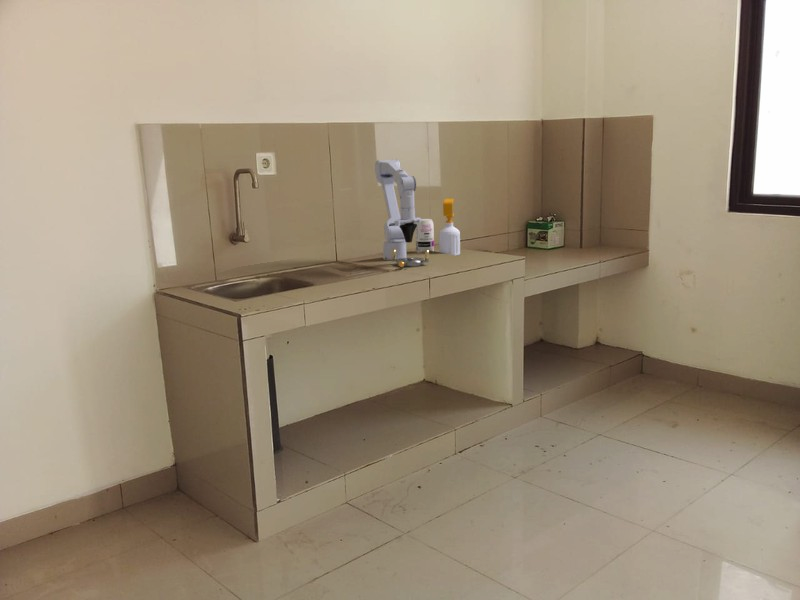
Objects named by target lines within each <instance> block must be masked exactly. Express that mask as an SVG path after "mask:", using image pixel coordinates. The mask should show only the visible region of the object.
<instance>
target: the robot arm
mask: <svg viewBox="0 0 800 600" xmlns="http://www.w3.org/2000/svg"><path fill="white" fill-rule="evenodd" d="M374 172H375V178H376V181H377V183H379V184H380V185H381V188H382V191H383V197H384V202H385V206H386V212H387V215H388V220H386V221H385V223H384V226H383V230H384V235H383V236H384V238H385V241H384V242H383V245H382V255H383V260H384V261H392V249H396V259H400V258H407V255H408V254H407V243H412V242H413V237H414V233H415V232H416V230H415V229H416V227H417V224H415V223H417V222H421V219H422V218H421V217H419V216H418V217H416V209H415V208H416V206H415V205H416V204H415V191H416V189H417V180H416V178H415V176H414V175H413V176H409V174H408V173H407V172H406V171H405V170H404V169H403V168H401V163H400V160H399V159H397V158H396V159H381V160H379V159H376V161H375V163H374ZM395 183H396V185H397V186H396V187H397V191H398V193H397V194H398V197H399V205H398V200H397V196H396V191H395V187H394V184H395ZM399 209H400V210H399Z"/></svg>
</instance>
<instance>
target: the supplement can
mask: <svg viewBox="0 0 800 600" xmlns="http://www.w3.org/2000/svg"><path fill="white" fill-rule="evenodd" d="M414 224H417V227H416V229H415V251H416V253H423V252H424V253H425V250H429V252H434V251H435V231H434V229H435V228H434V227H435V226H434V221H433V219H432V218H421V222H417V223H414Z"/></svg>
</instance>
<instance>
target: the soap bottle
mask: <svg viewBox="0 0 800 600" xmlns="http://www.w3.org/2000/svg"><path fill="white" fill-rule="evenodd" d="M454 201H455V199H454V198H444V201H443V203H442V204H443V205H442V206H443V207H442V209H443V210H442V211H443V212H442V214H443V217H445V218H446V219H447V220H446V221H445V226H444V227H443V228H442V229H440V230H439V234H438V236H439V237H438V241H439V242H438V243H439V248H438V250H439V253H440V254H445V255H446V254H447V255H451V256H456V257H457V256H459V255H461V232H460V230H459V229H458V228H457V227H455V226H454V221H453V220H452V219H453V217H454V216H455V213H454V212H453V210H454V208H453V205H454V204H453V203H454Z"/></svg>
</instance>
